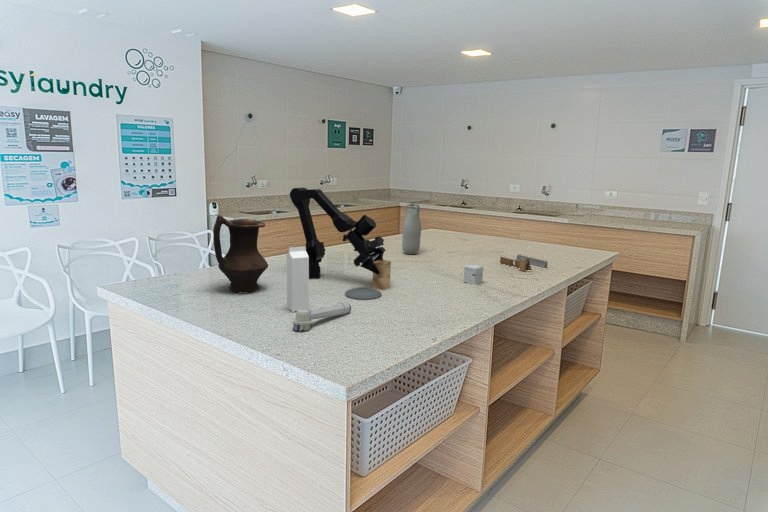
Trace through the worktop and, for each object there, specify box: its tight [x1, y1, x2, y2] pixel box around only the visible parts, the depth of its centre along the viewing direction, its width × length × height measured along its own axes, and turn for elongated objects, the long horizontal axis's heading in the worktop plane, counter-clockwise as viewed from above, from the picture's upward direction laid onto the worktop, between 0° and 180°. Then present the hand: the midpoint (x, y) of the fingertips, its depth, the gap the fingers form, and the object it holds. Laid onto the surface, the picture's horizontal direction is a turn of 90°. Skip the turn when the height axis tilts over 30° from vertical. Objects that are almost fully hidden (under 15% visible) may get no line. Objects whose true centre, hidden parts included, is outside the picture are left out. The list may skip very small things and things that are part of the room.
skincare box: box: [463, 264, 484, 285], centre depth 222 cm, size 6×6×7 cm
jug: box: [212, 214, 269, 293], centre depth 197 cm, size 21×18×30 cm
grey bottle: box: [401, 202, 422, 255], centre depth 280 cm, size 10×10×28 cm
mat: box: [344, 287, 382, 301], centre depth 198 cm, size 14×14×1 cm
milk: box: [285, 245, 310, 313], centre depth 176 cm, size 6×6×22 cm
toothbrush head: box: [292, 302, 352, 332], centre depth 166 cm, size 5×7×25 cm
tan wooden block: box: [371, 259, 392, 291], centre depth 209 cm, size 5×5×11 cm
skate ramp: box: [499, 253, 549, 272], centre depth 256 cm, size 29×35×8 cm
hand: (382, 272), depth 208 cm, fingers open, 6 cm apart
